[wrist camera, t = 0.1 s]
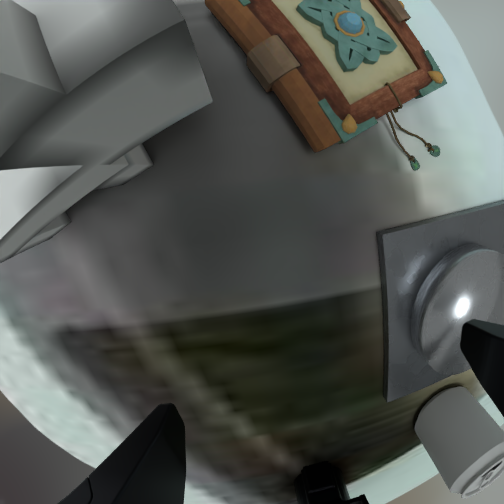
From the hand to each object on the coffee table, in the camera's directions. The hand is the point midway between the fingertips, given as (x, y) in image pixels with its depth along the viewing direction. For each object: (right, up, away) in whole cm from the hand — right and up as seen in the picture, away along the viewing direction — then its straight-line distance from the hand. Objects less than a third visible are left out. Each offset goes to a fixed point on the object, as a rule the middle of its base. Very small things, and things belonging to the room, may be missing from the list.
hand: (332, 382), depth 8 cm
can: (+19, -14, +19) cm, 30 cm away
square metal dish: (+16, -1, +15) cm, 22 cm away
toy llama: (-14, +11, +11) cm, 20 cm away
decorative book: (+5, +17, +10) cm, 20 cm away
